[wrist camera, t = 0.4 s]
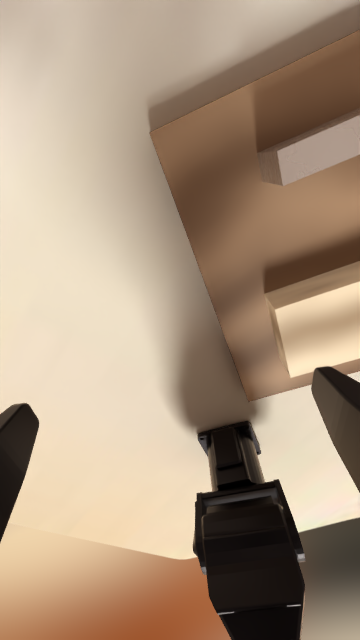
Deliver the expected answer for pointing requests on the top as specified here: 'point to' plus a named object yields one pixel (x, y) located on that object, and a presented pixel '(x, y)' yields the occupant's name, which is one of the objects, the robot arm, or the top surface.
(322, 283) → the birch plate
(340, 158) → the bench dog
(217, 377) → the top surface
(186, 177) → the bench board
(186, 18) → the top surface
